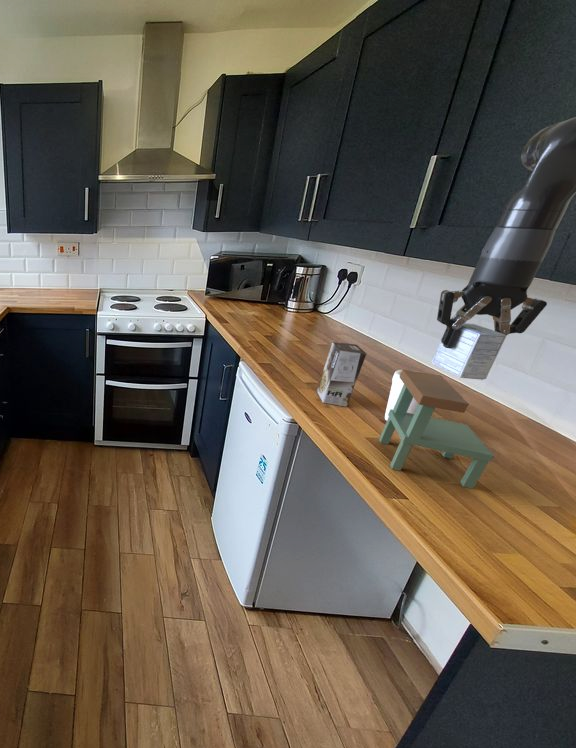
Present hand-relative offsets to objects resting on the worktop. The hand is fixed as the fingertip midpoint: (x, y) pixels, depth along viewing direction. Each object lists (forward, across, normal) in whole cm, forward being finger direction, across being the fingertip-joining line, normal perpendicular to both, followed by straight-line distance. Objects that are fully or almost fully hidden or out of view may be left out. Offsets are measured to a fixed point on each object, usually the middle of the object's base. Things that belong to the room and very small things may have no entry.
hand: (467, 349), depth 75 cm
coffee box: (+28, -11, +33) cm, 44 cm away
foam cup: (+28, +4, +26) cm, 38 cm away
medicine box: (+5, 0, 0) cm, 5 cm away
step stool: (+27, +3, +5) cm, 28 cm away
